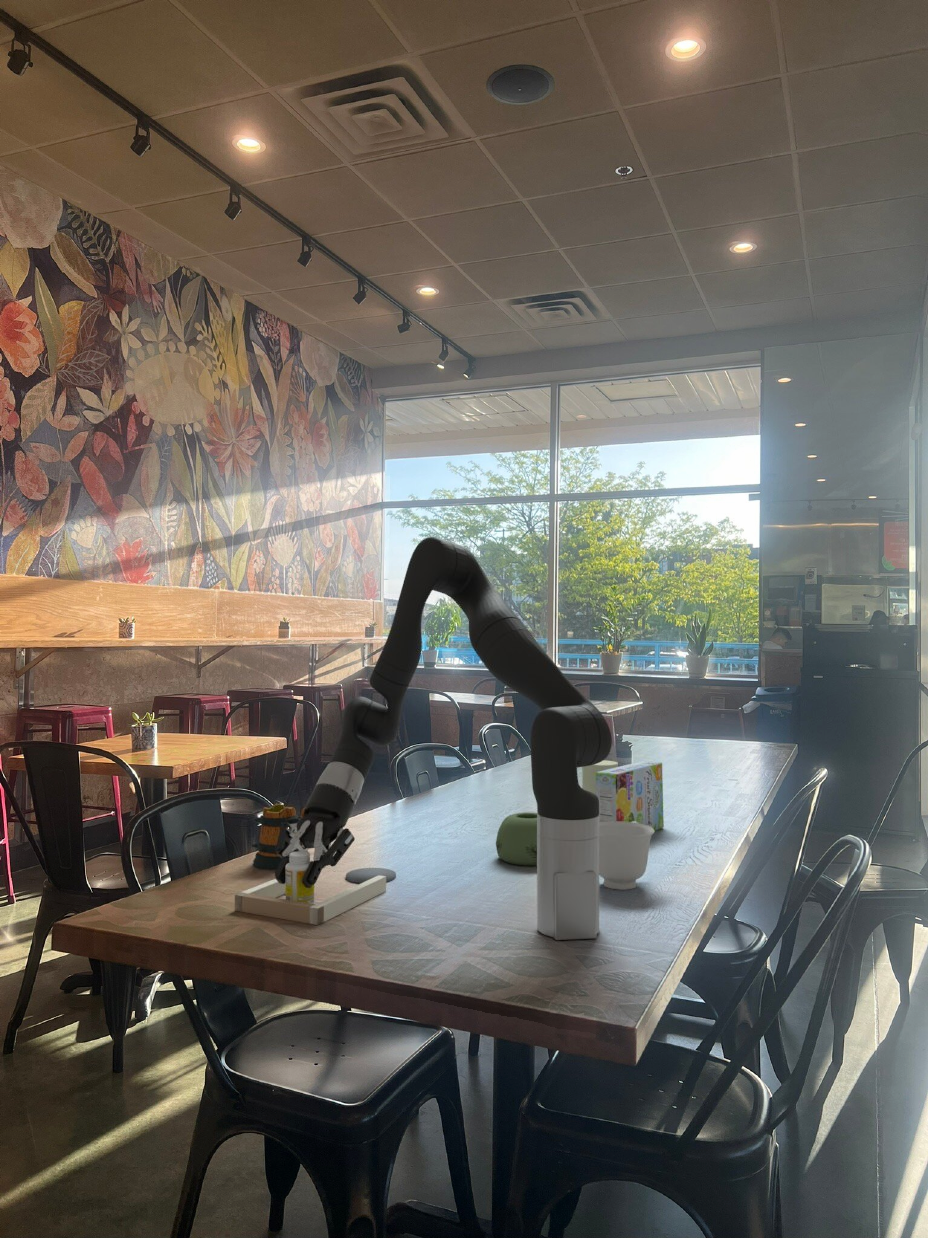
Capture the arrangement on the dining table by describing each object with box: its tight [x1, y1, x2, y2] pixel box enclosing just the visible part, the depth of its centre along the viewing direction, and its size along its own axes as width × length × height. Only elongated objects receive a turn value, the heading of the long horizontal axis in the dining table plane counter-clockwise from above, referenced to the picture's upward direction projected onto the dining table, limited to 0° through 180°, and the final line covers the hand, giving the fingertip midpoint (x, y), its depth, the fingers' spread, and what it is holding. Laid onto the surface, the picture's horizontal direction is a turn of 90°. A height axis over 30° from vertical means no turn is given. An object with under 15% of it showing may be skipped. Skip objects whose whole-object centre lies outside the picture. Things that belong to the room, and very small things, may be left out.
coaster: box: [345, 867, 397, 884], centre depth 162 cm, size 9×9×1 cm
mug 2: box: [495, 811, 537, 867], centre depth 176 cm, size 16×13×9 cm
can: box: [581, 759, 619, 795], centre depth 227 cm, size 9×9×12 cm
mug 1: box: [251, 803, 309, 871], centre depth 171 cm, size 13×10×12 cm
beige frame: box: [234, 875, 387, 926], centre depth 148 cm, size 20×16×2 cm
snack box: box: [596, 760, 665, 832], centre depth 197 cm, size 21×6×15 cm, turn 141°
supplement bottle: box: [285, 851, 315, 904], centre depth 144 cm, size 5×5×8 cm
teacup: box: [599, 821, 656, 891], centre depth 158 cm, size 12×15×10 cm
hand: (292, 883), depth 143 cm, fingers closed on supplement bottle, 4 cm apart
